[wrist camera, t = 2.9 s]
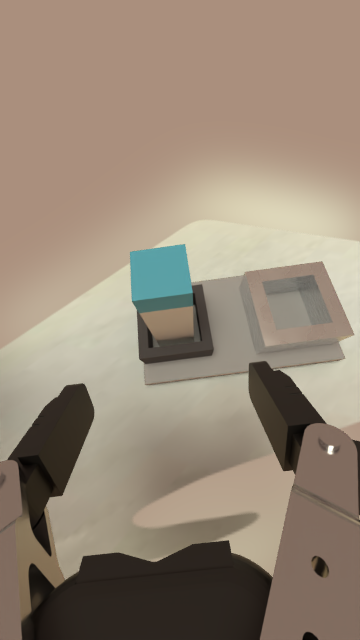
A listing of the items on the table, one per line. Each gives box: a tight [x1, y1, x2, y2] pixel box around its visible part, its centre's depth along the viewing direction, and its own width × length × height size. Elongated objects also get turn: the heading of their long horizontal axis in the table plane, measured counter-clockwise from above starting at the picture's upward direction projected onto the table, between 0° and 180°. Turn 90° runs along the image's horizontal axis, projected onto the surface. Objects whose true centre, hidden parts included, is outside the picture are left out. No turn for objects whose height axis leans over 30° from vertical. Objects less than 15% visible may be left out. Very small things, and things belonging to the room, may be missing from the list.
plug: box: [130, 244, 194, 347], centre depth 20 cm, size 4×4×12 cm
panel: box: [144, 275, 345, 385], centre depth 26 cm, size 22×12×1 cm, turn 97°
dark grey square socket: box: [137, 284, 214, 364], centre depth 24 cm, size 8×8×3 cm
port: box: [239, 262, 354, 354], centre depth 24 cm, size 9×9×4 cm
